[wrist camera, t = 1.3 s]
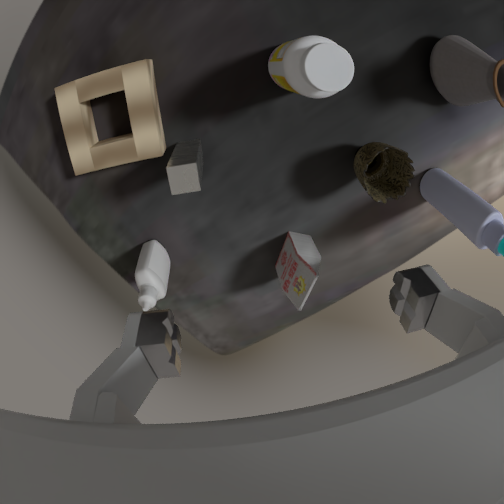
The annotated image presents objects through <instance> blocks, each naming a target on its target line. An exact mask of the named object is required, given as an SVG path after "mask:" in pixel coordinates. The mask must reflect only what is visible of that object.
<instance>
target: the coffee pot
mask: <svg viewBox="0 0 504 504" xmlns="http://www.w3.org/2000/svg"><path fill="white" fill-rule="evenodd" d="M430 72H431V77H432V80H433V83H434V85H435V86H436V88H437V90H438V91H439V93H440V94H441V95H442V96H443V97H444V98H445V100H447V101H448V102H450V103H451V104H453V105H456V106H469V105H473V104H476V103H481V102H485V101H489V100H493V99H497V101H498V102H499V103H500V105H501V106H502V107H504V59H502V60H500V61H498V62H497V61H495V60H494V59H493V58H492V57H490V56H489V55H488V54H486V53H485V52H483V51H482V50H481V49H479V48H478V47H476V46H475V45H474V44H472V43H471V42H469V41H468V40H466V39H464V38H462V37H460V36H456V35H449V36H446V37H443V38H442V39H441V40H439V41H438V42H437V43H436V44H435V46H434V47H433V49H432V52H431V56H430Z"/></svg>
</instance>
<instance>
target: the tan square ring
mask: <svg viewBox="0 0 504 504" xmlns="http://www.w3.org/2000/svg"><path fill="white" fill-rule="evenodd" d="M54 89H55V94H56V99H57V104H58V109H59V114H60V118H61V123H62V127H63V131H64V135H65V139H66V143H67V147H68V151H69V155H70V158H71V162H72V165H73V169H74V172H75V176H77V175H80V174H84V173H88V172H92V171H96V170H100V169H104V168H108V167H112V166H117V165H121V164H125V163H130V162H135V161H139V160H144V159H149V158H154V157H160V156H163V154H164V152H165V150H166V143H165V138H164V132H163V127H162V121H161V115H160V109H159V103H158V97H157V90H156V84H155V77H154V70H153V63H152V60H149V59H145V60H141V61H137V62H133V63H129V64H125V65H122V66H118V67H115V68H111V69H108V70H105V71H101V72H98V73H95V74H92V75H89V76H86V77H83V78H80V79H78V80H75V81H72V82H70V83H67V84H64V85H62V86H59V87H57V88H54ZM121 90H125V95H126V101H127V106H128V112H129V117H130V122H131V127H132V132H133V133H129V134H125V135H121V136H117V137H113V138H109V139H105V140H102V141H98V137H97V132H96V128H95V123H94V119H93V114H92V109H91V104H90V100H91V99H94V98H97V97H100V96H104V95H107V94H110V93H114V92H118V91H121Z"/></svg>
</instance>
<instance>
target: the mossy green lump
mask: <svg viewBox="0 0 504 504" xmlns="http://www.w3.org/2000/svg"><path fill="white" fill-rule="evenodd" d="M410 163H413V161H412V160H411V159H410V158H409V157H408V153H407V152H405V151H403V150H401V149H399V148H396V147H393V146H390V145H388V144H384V143H380V142H372V143H368V144H366V145H364V146H363V147H361V148H359V149H358V150H357V152H356V154H355V159H354V171H355V174H356V176H357V178H358V180H359V181H360V183H361V184H362V186H363V187H364V189H365V190H366V192H367V193H368V194H369V195H370V196H371V197H372V198H373V199H374V200H375V201H376V202H382V203H386V202H387V200H386V199H391V198H394V199H395V200H398V196H402V197H403V196H405V194H406V187H411V184H410V182H409V180H411V179H412V178H414V175H413V173H412V172H414V171H415V170H414V168H413V166H412V165H411V164H410ZM408 179H409V180H408Z"/></svg>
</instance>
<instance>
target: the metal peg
mask: <svg viewBox="0 0 504 504" xmlns="http://www.w3.org/2000/svg"><path fill="white" fill-rule="evenodd" d="M166 169H167V174H168V179H169V184H170V188H171V193H172V195H175V194H181V193H188V192H194V191H201V182H202V170H203V155H202V148H201V141H200V139H195V140H189V141H183V142H177V144H176V146H175V148H174V151H173V153H172V155H171V158H170V160H169V162H168V165H167V167H166Z"/></svg>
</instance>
